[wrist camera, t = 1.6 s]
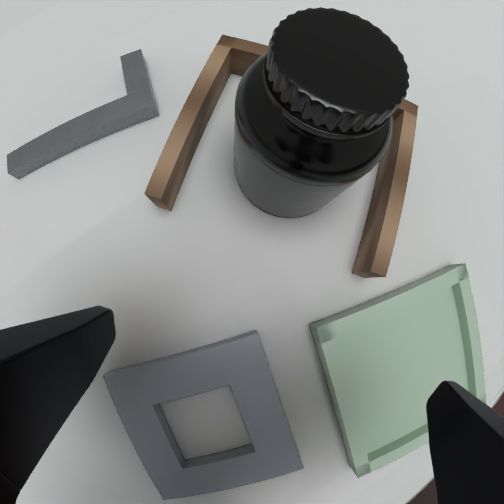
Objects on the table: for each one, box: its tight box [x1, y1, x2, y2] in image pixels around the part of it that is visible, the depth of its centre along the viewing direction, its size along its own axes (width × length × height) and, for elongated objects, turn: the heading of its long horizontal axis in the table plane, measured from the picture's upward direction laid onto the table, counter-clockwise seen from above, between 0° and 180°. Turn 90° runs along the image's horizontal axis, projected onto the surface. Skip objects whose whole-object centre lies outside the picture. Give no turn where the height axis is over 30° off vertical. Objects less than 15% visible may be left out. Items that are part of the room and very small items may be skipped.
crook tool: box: [7, 49, 159, 179], centre depth 19 cm, size 12×6×2 cm, turn 109°
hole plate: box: [103, 330, 304, 500], centre depth 18 cm, size 10×10×1 cm
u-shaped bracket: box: [145, 35, 418, 278], centre depth 19 cm, size 12×14×3 cm
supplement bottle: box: [234, 7, 409, 217], centre depth 14 cm, size 7×7×12 cm
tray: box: [309, 263, 486, 478], centre depth 19 cm, size 12×12×2 cm
